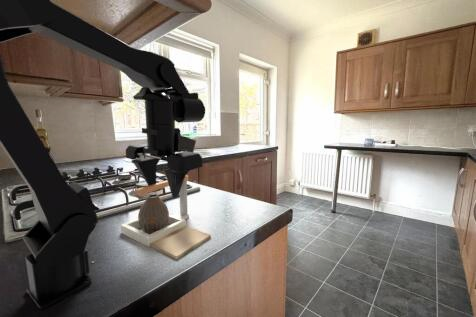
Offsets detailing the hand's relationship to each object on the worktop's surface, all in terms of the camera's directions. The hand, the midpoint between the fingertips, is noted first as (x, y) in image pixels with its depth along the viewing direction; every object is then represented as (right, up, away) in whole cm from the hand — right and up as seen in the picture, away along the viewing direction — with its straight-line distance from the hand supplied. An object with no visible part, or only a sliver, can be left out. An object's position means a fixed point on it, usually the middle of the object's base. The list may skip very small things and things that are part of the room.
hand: (163, 193), depth 49 cm
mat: (+4, -10, -1) cm, 11 cm away
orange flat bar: (-1, +1, +4) cm, 5 cm away
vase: (-4, -10, +4) cm, 11 cm away
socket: (-2, -9, +6) cm, 11 cm away
